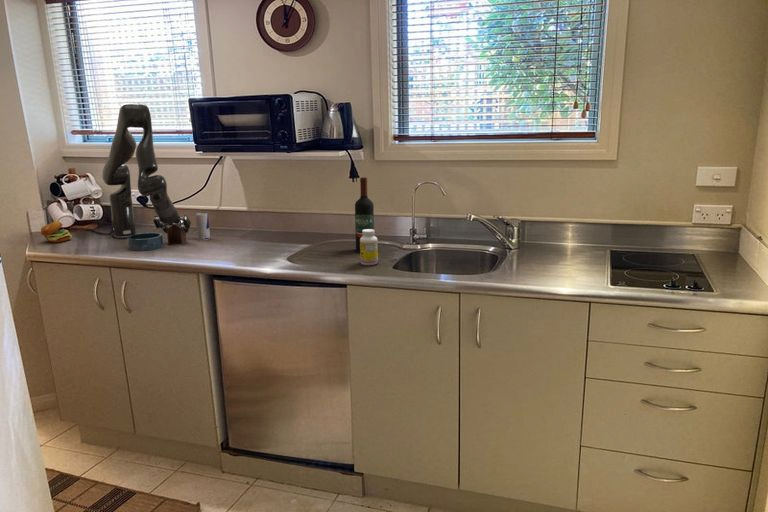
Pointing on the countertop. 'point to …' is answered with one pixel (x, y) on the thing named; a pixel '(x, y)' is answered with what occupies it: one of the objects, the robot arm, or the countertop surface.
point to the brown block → (176, 235)
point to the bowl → (145, 241)
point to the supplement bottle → (368, 248)
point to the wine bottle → (363, 213)
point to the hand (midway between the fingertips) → (177, 231)
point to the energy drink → (202, 226)
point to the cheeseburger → (55, 232)
